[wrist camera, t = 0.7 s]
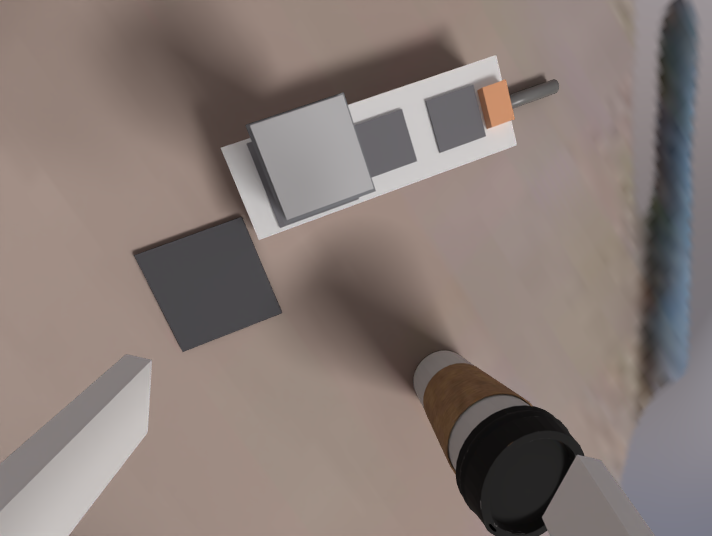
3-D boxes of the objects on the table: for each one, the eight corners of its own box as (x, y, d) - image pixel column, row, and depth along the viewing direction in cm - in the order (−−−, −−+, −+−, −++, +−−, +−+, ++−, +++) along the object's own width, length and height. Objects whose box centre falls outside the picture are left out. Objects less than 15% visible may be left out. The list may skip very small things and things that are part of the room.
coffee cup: (384, 375, 36) (448, 492, 22) (451, 321, 37) (558, 401, 22) (431, 431, 39) (518, 572, 24) (494, 379, 39) (617, 488, 24)
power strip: (262, 234, 32) (258, 241, 27) (229, 154, 30) (218, 146, 26) (557, 126, 35) (598, 115, 30) (541, 48, 33) (582, 23, 29)
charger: (285, 216, 28) (284, 225, 18) (259, 149, 27) (243, 122, 17) (347, 193, 28) (378, 191, 19) (324, 127, 27) (345, 88, 18)
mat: (184, 350, 33) (182, 351, 32) (136, 254, 30) (134, 255, 30) (281, 311, 33) (281, 313, 33) (241, 216, 31) (241, 217, 31)
